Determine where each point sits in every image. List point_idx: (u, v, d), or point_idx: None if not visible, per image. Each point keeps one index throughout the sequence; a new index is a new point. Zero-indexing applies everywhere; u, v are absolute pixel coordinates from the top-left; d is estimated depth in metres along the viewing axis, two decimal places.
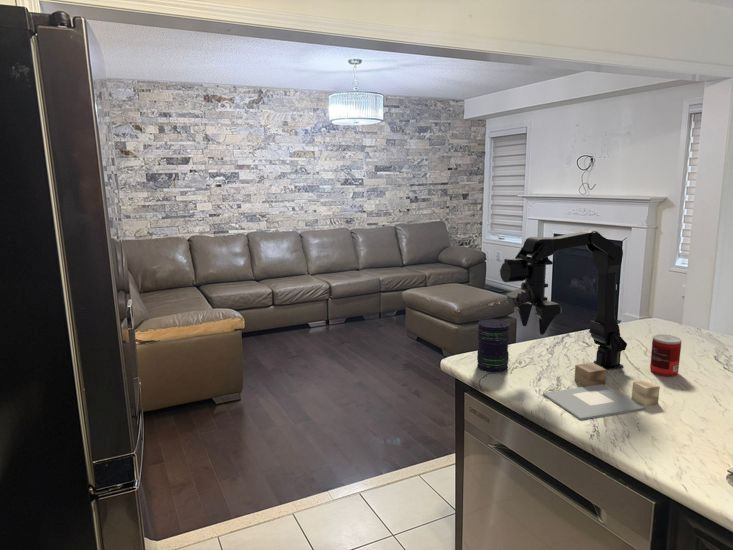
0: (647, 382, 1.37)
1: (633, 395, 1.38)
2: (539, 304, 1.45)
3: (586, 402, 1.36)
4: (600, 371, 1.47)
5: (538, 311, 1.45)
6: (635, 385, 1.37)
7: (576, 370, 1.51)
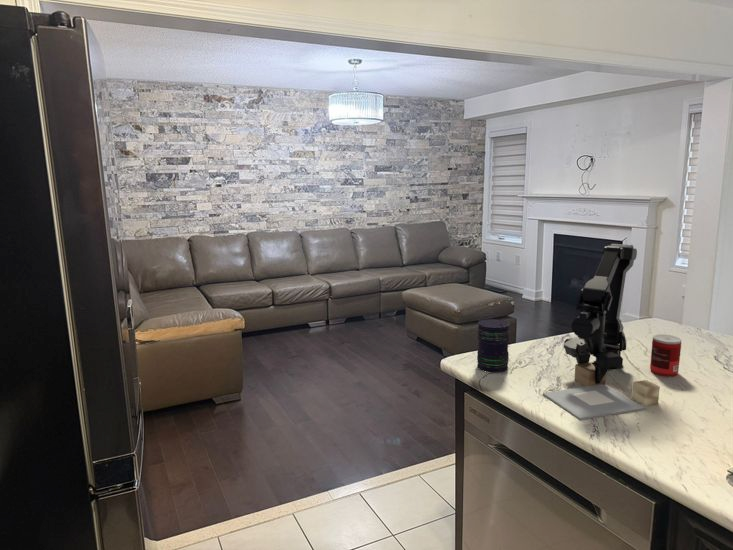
0: (647, 382, 1.37)
1: (633, 395, 1.38)
2: (600, 355, 1.41)
3: (586, 402, 1.36)
4: None
5: (599, 363, 1.41)
6: (635, 385, 1.37)
7: (576, 370, 1.51)
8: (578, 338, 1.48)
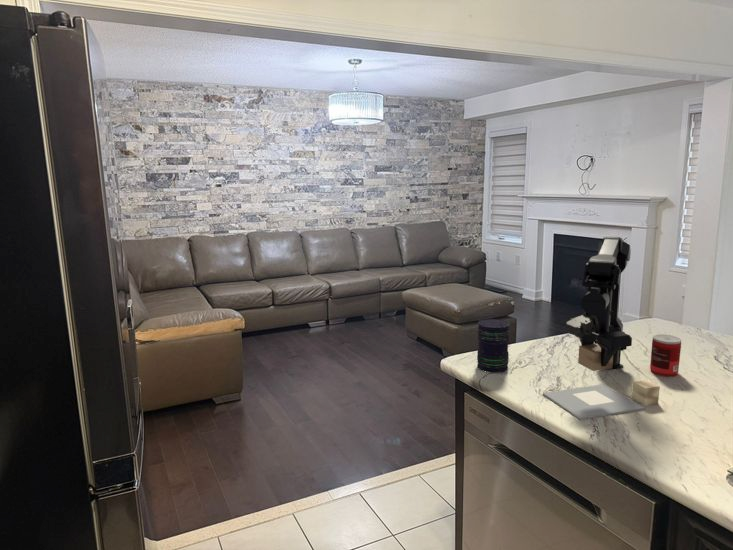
0: (647, 382, 1.37)
1: (633, 395, 1.38)
2: (607, 335, 1.28)
3: (586, 402, 1.36)
4: None
5: (605, 343, 1.28)
6: (635, 385, 1.37)
7: (580, 351, 1.38)
8: (582, 316, 1.34)
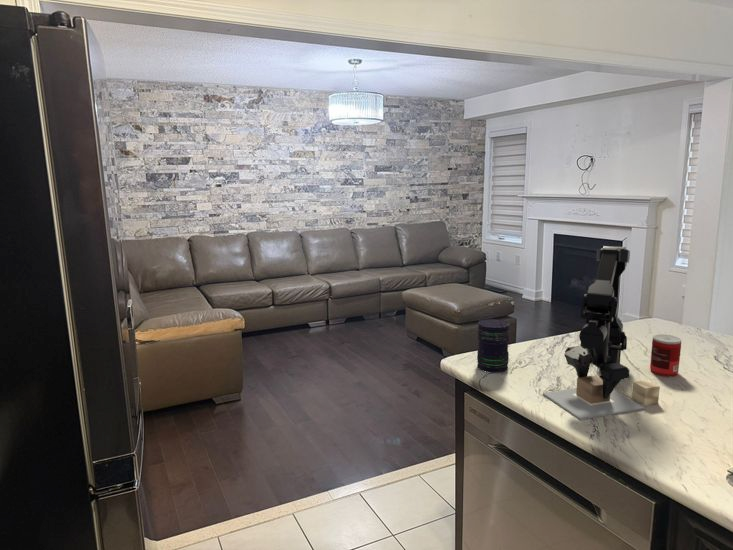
0: (647, 382, 1.37)
1: (633, 395, 1.38)
2: (605, 367, 1.30)
3: (586, 402, 1.36)
4: None
5: (603, 375, 1.30)
6: (635, 385, 1.37)
7: (578, 383, 1.40)
8: (581, 347, 1.36)
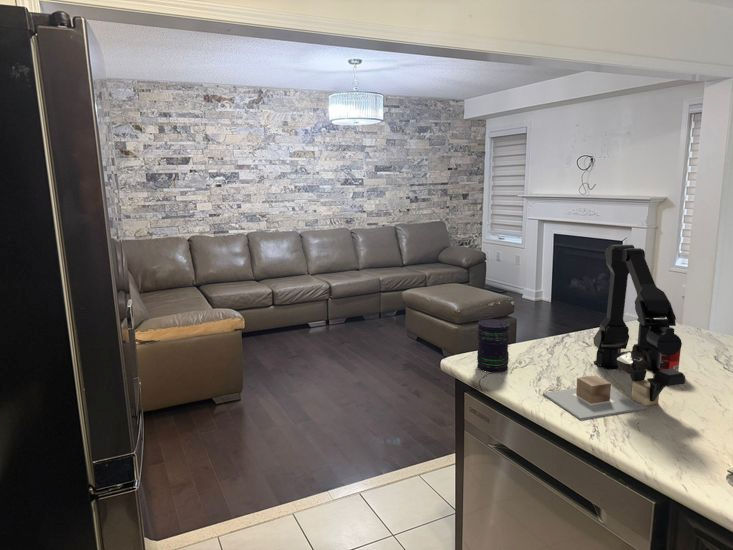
0: (647, 382, 1.37)
1: (633, 395, 1.38)
2: (660, 372, 1.29)
3: (586, 402, 1.36)
4: (604, 385, 1.35)
5: (658, 381, 1.28)
6: (635, 384, 1.37)
7: (578, 383, 1.40)
8: (633, 353, 1.35)
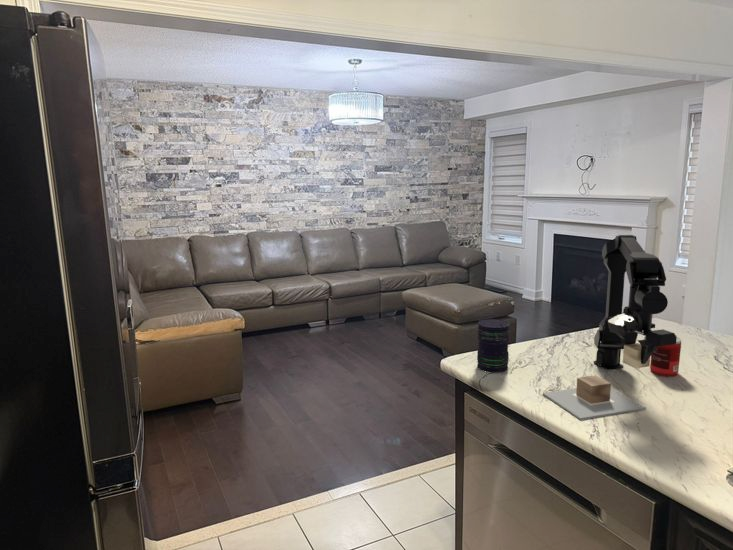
0: (638, 345, 1.36)
1: (624, 358, 1.36)
2: (651, 333, 1.27)
3: (586, 402, 1.36)
4: (604, 385, 1.35)
5: (650, 341, 1.27)
6: (626, 347, 1.35)
7: (578, 383, 1.40)
8: (624, 315, 1.33)
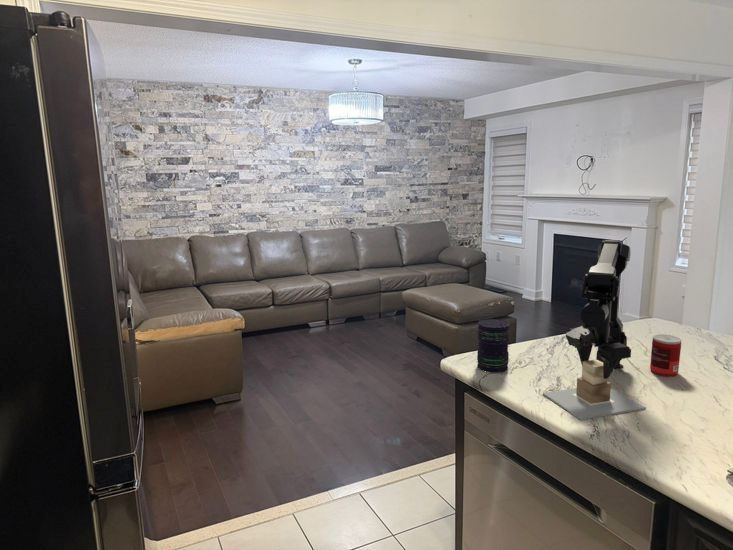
0: (596, 361, 1.38)
1: (583, 374, 1.39)
2: (606, 346, 1.29)
3: (586, 402, 1.36)
4: (604, 385, 1.35)
5: (605, 354, 1.29)
6: (585, 364, 1.38)
7: (578, 383, 1.40)
8: (582, 327, 1.35)
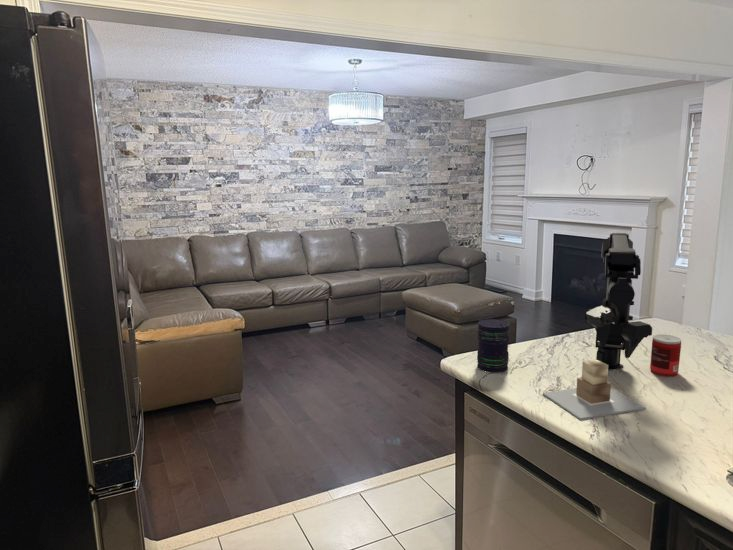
0: (596, 361, 1.38)
1: (583, 374, 1.39)
2: (627, 324, 1.29)
3: (586, 402, 1.36)
4: (604, 385, 1.35)
5: (626, 332, 1.29)
6: (585, 364, 1.38)
7: (578, 383, 1.40)
8: (602, 307, 1.35)
